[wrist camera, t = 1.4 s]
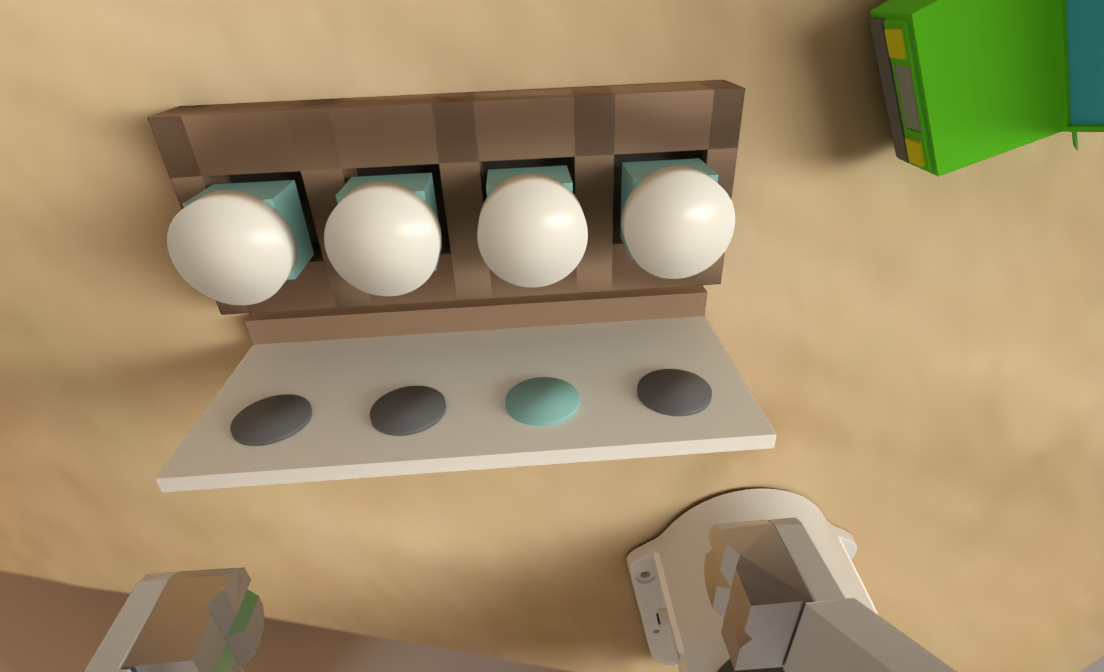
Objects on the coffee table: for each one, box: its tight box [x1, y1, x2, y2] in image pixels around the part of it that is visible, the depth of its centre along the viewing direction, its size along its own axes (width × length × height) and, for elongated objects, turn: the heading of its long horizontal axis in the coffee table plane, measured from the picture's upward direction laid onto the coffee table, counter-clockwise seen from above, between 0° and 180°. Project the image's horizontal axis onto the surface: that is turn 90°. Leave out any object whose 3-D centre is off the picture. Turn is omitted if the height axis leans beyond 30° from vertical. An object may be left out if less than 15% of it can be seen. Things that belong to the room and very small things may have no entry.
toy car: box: [869, 0, 1104, 176], centre depth 25 cm, size 10×13×10 cm
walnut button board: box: [147, 80, 745, 315], centre depth 30 cm, size 10×27×3 cm, turn 92°
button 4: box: [167, 180, 314, 305], centre depth 27 cm, size 5×5×4 cm
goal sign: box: [155, 285, 777, 492], centre depth 31 cm, size 4×27×12 cm, turn 92°
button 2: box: [477, 165, 588, 288], centre depth 27 cm, size 5×5×4 cm
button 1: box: [620, 158, 735, 279], centre depth 27 cm, size 5×5×4 cm
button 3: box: [324, 173, 442, 296], centre depth 27 cm, size 5×5×4 cm
